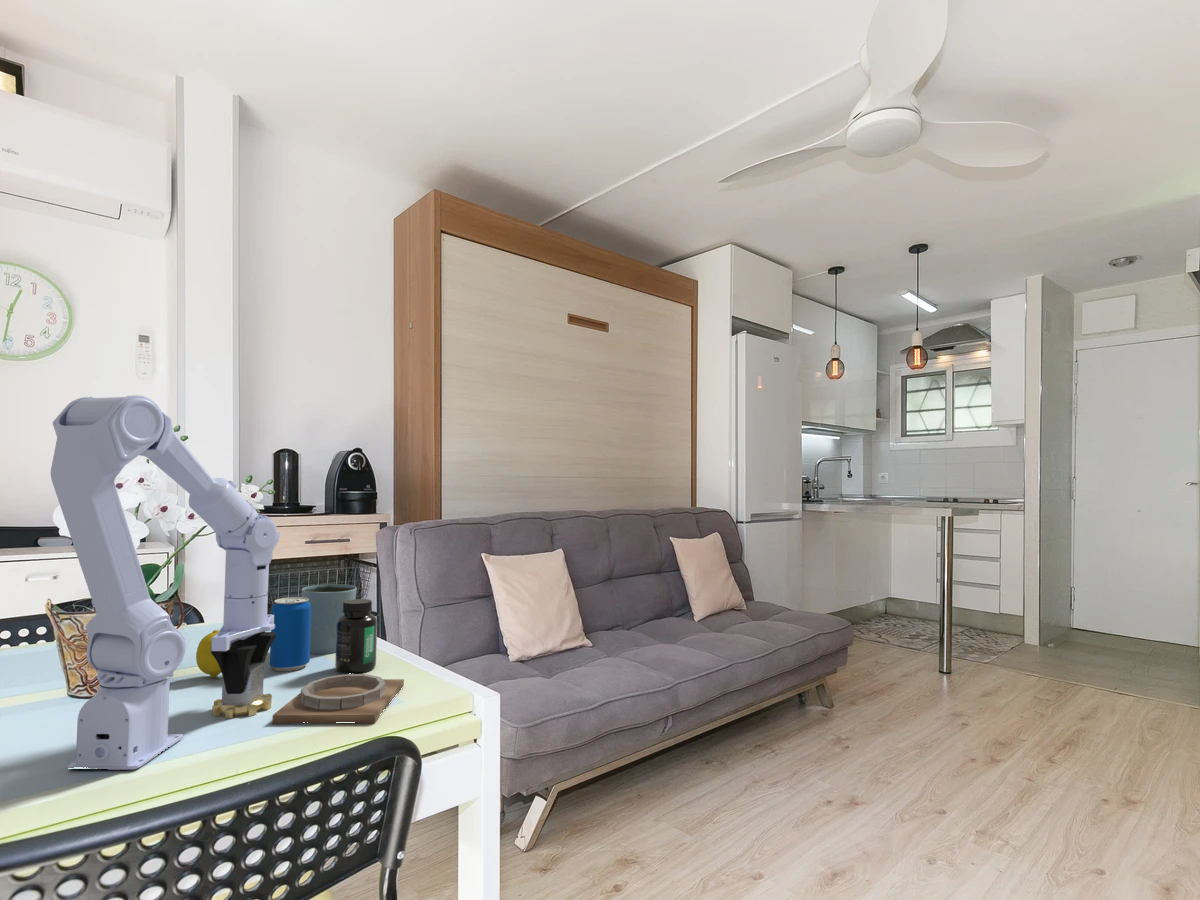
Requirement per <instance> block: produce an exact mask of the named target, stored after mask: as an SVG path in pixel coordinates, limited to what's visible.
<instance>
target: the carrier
mask: <svg viewBox="0 0 1200 900" xmlns="http://www.w3.org/2000/svg"><path fill="white" fill-rule="evenodd" d="M404 685H405V679H404V678H401V679H400V678H397V679H394V678H393V679H392V678H391V679H389V678H387V679H384V678H382V677H381V676H378V675H372V674H368V673H367V674H366V673H359V674H338V675H331V676H325V677H323V678H319V679H318V678H317V679H315V680H311V681H310V682H308V683H307V684H305V685H304V686H303V687H302V688H301V689H300V692H299V693H298V694H297V695H296V696H295V697H293V698H292V699H291V700H290V701H289V702H287V703H286V704H285V705H284V706H282V707H281V708H280V709H278V710H277V711H276V712H275V713H273V714H272V723H303V722H305V723H307V722H308V723H336V722H355V723H359V725H360V724H363V725H364V724H365V725H366V724H376V722H377V721H378V720H379V719H380V717H381V716H380V714H381V713H382V712H383V710H384V709H385V708H386V707H387V706H388V705H389V703H390V702H391V701H392V699H393V698H394V697H395V695H396V694H397V693H398V692H399V691H400V690H401V688H402V687H403V686H404ZM404 687H405V686H404ZM404 687H403V688H404ZM403 688H402V689H403ZM401 691H402V690H401ZM401 691H400V692H401ZM400 692H399V693H400ZM399 693H398V694H399ZM395 698H396V697H395ZM395 698H394V699H395ZM392 702H393V701H392ZM392 702H391V703H392ZM391 703H390V704H391ZM389 706H390V705H389ZM389 706H388V707H389ZM388 707H387V708H388ZM383 713H384V712H383ZM379 716H380V717H379ZM378 718H379V719H378ZM272 723H271V724H272Z"/></svg>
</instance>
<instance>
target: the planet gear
mask: <svg viewBox="0 0 1200 900" xmlns="http://www.w3.org/2000/svg"><path fill="white" fill-rule="evenodd" d="M264 672H265V662H250V663H249V667H248V673H247V680H246V685H245V689H244V692H243V693H242V694H227V691H226V688H225V684H224V680H223V679H222V687H221V699H220V698H219V699H216V700H214V701H213V705H212V706H211V707H212V708H211V715H212V716H213V717H218V716H222V717H224V719H234V718H235V717H242V716H243V717H244V716H248V717H252V716H255V715H257V713H259V712H262V711H268V710H270V709H271V708H272V699H273V698H272V697H273V695H272V694H271V693H264V675H265V674H264Z"/></svg>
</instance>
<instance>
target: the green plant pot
mask: <svg viewBox="0 0 1200 900" xmlns="http://www.w3.org/2000/svg"><path fill="white" fill-rule="evenodd" d="M356 596H357V586H355V585H351V584H342V583H340V584H338V583H329V584H328V583H327V584H325V583H324V584H317V585H310V586H304V587H303V588H302V589H301V597H306V598H308V599H309V600H308V601H309V603H310V604H311V629H310V655H327V654H336V625H337V621H338V620H339V619H340V618H341V617H342V616H344V613H342V610H343V602H344V601H347V600H353V599H356Z"/></svg>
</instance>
